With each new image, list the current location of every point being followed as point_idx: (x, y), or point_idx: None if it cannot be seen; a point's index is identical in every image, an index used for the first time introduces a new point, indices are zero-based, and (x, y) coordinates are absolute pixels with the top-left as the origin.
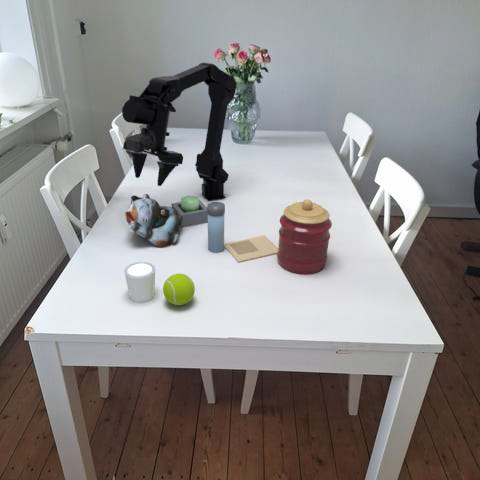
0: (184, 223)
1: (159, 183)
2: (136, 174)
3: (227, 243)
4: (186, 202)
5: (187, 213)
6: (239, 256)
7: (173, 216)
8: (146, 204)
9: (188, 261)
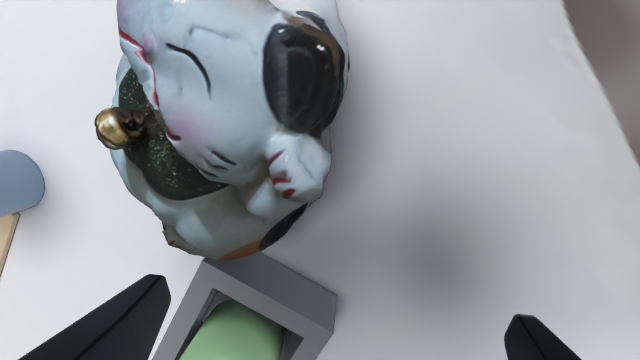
0: None
1: (124, 295)
2: (535, 343)
3: (7, 228)
4: (206, 345)
5: (195, 291)
6: None
7: (122, 176)
8: (149, 45)
9: (7, 39)
